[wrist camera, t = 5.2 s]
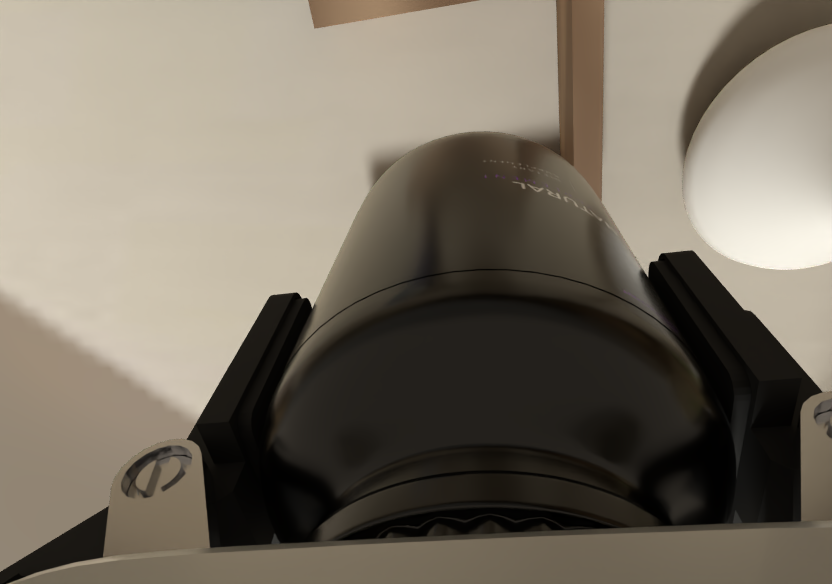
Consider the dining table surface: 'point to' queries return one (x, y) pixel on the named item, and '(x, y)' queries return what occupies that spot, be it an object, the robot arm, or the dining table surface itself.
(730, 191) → the flower in vase
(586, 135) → the brown wooden arch piece
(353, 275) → the supplement bottle
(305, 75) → the dining table surface
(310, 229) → the dining table surface
